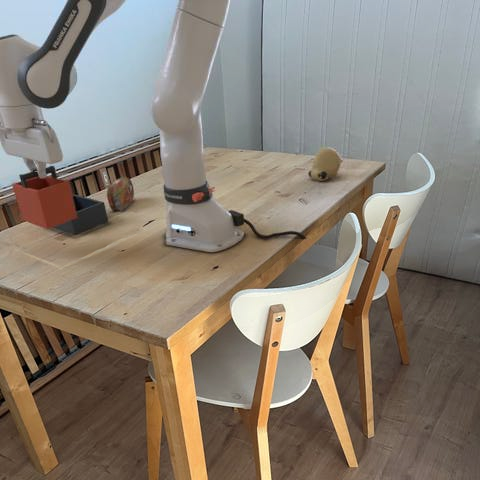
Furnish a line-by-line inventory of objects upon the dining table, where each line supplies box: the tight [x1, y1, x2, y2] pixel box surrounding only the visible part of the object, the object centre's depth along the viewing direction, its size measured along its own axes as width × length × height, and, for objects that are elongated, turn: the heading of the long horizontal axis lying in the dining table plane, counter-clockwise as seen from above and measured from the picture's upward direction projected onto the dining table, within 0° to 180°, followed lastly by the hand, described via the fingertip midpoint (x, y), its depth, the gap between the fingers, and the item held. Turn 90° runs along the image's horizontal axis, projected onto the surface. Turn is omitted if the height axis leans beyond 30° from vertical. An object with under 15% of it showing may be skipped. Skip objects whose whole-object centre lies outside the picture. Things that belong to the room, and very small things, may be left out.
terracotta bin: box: [11, 165, 78, 230], centre depth 122 cm, size 11×9×12 cm
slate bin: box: [51, 194, 109, 236], centre depth 144 cm, size 14×12×7 cm
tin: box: [106, 176, 135, 212], centre depth 156 cm, size 15×3×8 cm, turn 168°
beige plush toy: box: [307, 146, 343, 182], centre depth 169 cm, size 10×12×11 cm
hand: (39, 177), depth 119 cm, fingers closed on terracotta bin
